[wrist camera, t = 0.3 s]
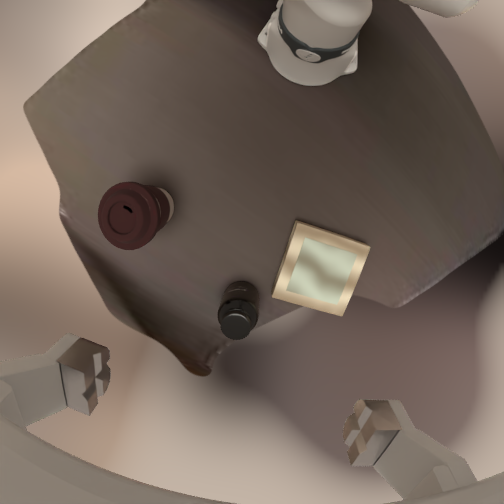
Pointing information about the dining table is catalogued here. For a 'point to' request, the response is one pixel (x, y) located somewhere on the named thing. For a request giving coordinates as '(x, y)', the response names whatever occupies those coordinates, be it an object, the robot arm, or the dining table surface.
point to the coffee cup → (133, 214)
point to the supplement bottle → (239, 310)
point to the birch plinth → (319, 269)
